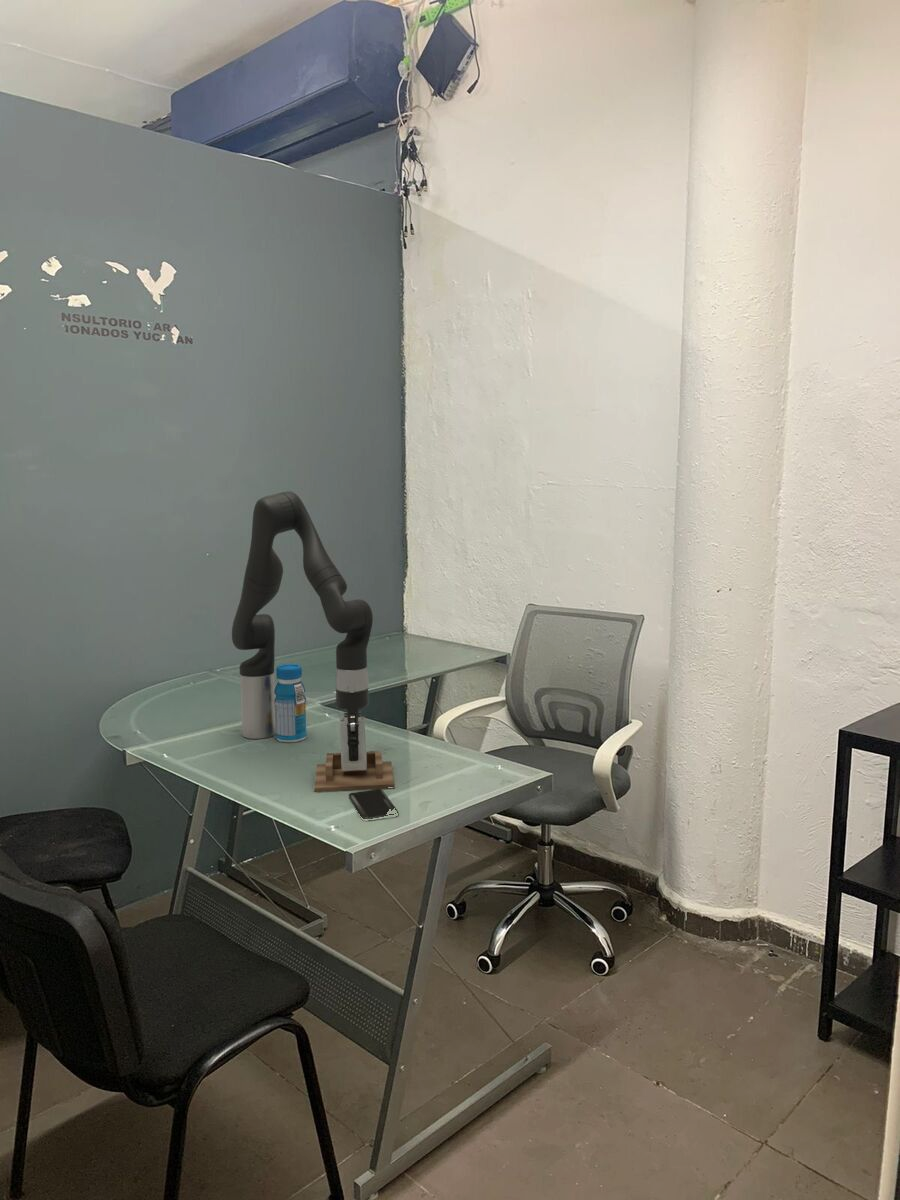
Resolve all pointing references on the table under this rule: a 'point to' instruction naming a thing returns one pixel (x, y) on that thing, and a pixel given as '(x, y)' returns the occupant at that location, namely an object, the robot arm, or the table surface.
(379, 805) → the phone
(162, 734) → the table surface
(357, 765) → the skincare box
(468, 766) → the table surface
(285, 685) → the beverage bottle
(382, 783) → the u rest
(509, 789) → the table surface
